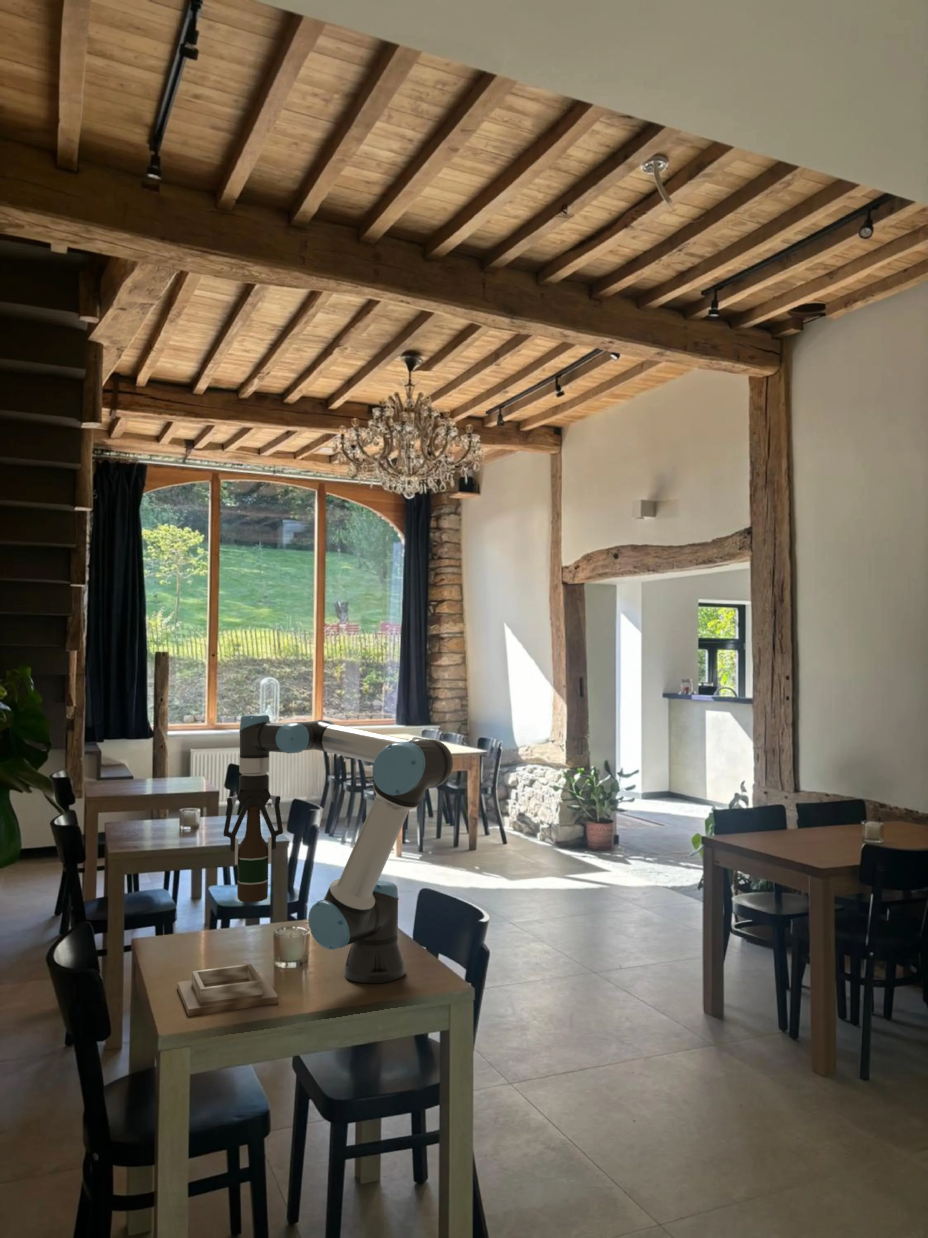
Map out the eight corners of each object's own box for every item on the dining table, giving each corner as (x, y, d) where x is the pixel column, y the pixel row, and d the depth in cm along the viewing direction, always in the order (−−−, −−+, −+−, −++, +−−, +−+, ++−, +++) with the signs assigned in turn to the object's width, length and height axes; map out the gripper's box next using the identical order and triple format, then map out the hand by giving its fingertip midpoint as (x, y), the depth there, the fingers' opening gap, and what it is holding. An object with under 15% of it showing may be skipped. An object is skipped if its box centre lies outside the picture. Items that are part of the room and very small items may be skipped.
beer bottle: (265, 902, 233) (266, 807, 235) (234, 903, 233) (236, 807, 234) (269, 895, 241) (270, 802, 242) (239, 896, 240) (241, 803, 242)
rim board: (260, 977, 230) (260, 959, 230) (278, 1003, 211) (278, 983, 212) (177, 988, 222) (177, 969, 222) (188, 1016, 203) (188, 995, 204)
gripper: (293, 771, 245) (292, 858, 243) (213, 773, 240) (212, 862, 239) (294, 774, 237) (294, 864, 236) (212, 776, 233) (211, 867, 231)
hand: (253, 863), depth 237 cm, fingers closed on beer bottle, 8 cm apart
